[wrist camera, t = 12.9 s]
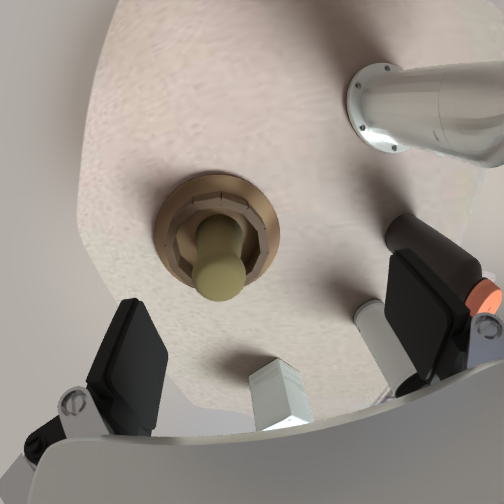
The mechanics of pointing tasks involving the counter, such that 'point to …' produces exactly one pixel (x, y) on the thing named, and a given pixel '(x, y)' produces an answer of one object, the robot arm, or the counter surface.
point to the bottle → (446, 263)
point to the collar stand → (214, 203)
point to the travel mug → (387, 349)
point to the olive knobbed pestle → (219, 258)
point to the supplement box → (279, 397)
